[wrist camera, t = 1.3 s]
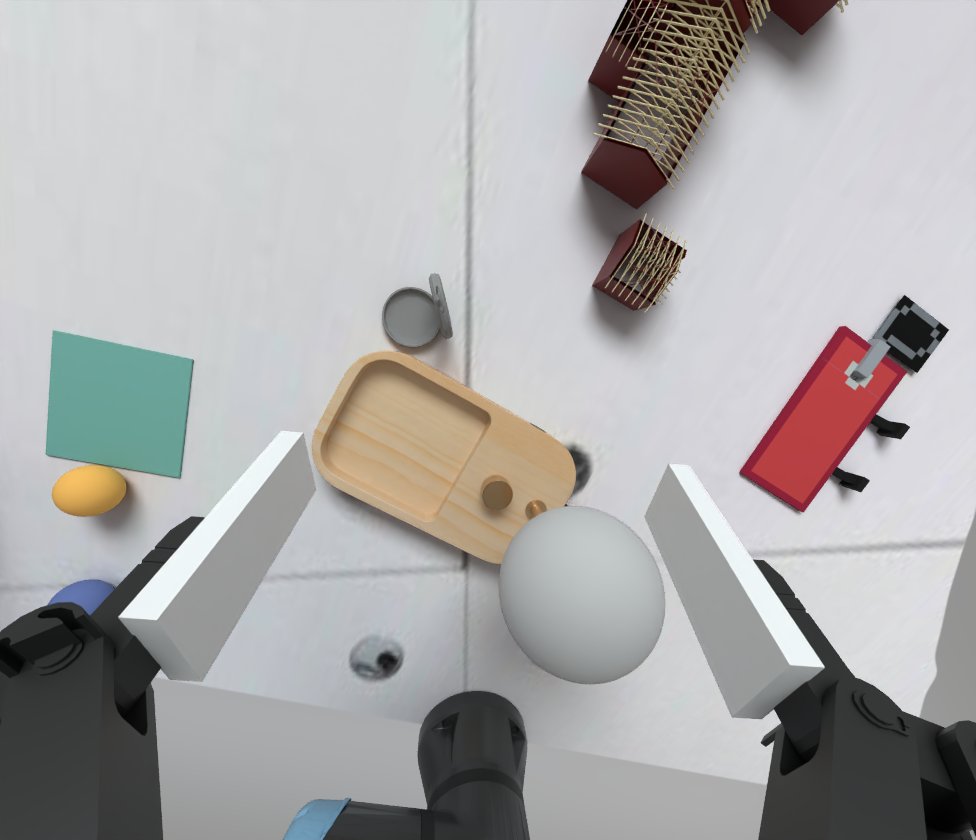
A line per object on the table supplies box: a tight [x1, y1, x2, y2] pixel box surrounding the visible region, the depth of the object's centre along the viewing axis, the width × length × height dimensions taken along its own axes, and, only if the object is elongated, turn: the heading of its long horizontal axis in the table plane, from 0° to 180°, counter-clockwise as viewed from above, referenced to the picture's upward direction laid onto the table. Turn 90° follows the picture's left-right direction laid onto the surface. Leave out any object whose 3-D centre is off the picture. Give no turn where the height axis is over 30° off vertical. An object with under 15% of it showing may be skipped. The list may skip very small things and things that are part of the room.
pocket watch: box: [382, 273, 453, 347], centre depth 38 cm, size 8×8×10 cm
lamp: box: [312, 351, 665, 684], centre depth 34 cm, size 33×17×25 cm, turn 60°
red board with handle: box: [740, 295, 949, 512], centre depth 49 cm, size 30×3×15 cm
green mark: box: [46, 331, 193, 478], centre depth 42 cm, size 14×14×1 cm
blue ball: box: [48, 580, 114, 615], centre depth 42 cm, size 6×6×6 cm
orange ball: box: [52, 465, 126, 517], centre depth 40 cm, size 6×6×6 cm
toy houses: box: [581, 0, 848, 313], centre depth 37 cm, size 45×20×10 cm, turn 152°
